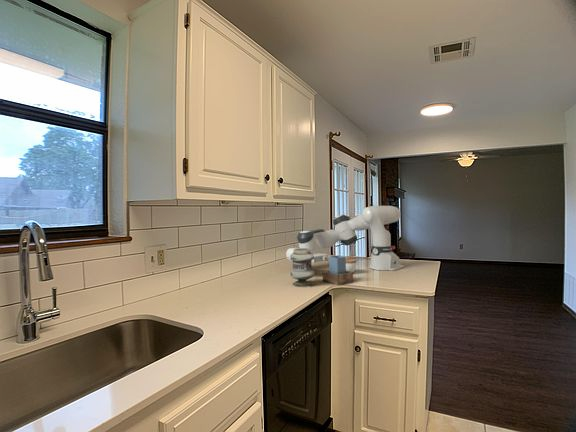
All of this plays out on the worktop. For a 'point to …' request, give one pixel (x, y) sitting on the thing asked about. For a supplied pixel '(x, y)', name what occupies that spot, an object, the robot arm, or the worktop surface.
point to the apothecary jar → (302, 266)
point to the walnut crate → (338, 278)
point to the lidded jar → (351, 264)
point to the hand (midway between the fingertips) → (321, 260)
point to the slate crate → (337, 265)
